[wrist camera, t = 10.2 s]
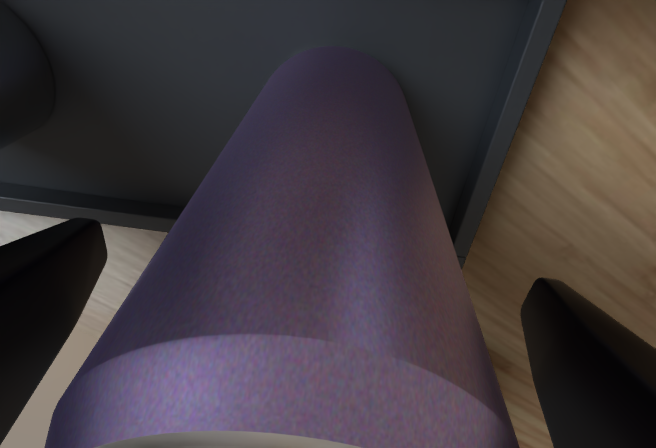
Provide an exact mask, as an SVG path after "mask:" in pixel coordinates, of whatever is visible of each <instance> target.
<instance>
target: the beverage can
mask: <svg viewBox="0 0 656 448" xmlns="http://www.w3.org/2000/svg"><path fill="white" fill-rule="evenodd" d="M45 448H519V444H518V441H517V438H516V435H515V432H514V429H513V426H512V423H511V420H510V417H509V414H508V411H507V408H506V405H505V402H504V399H503V396H502V393H501V390H500V386H499V383H498V380H497V377H496V374H495V371H494V368H493V365H492V362H491V359H490V356H489V353H488V350H487V347H486V344H485V341H484V338H483V335H482V331H481V328H480V325H479V322H478V319H477V316H476V313H475V310H474V307H473V304H472V301H471V298H470V295H469V292H468V289H467V286H466V283H465V280H464V277H463V273H462V270H461V267H460V264H459V261H458V258H457V255H456V252H455V249H454V246H453V243H452V240H451V237H450V234H449V231H448V228H447V225H446V222H445V218H444V215H443V212H442V209H441V206H440V203H439V200H438V197H437V194H436V191H435V188H434V185H433V182H432V179H431V176H430V173H429V170H428V167H427V164H426V160H425V157H424V154H423V151H422V148H421V145H420V142H419V139H418V136H417V133H416V130H415V127H414V124H413V121H412V118H411V115H410V112H409V109H408V105H407V102H406V99H405V97H404V94H403V91H402V89H401V87H400V85H399V84H398V82H397V80H396V79H395V78H394V76H393V75H392V74H391V73H390V71H389V70H388V69H387V68H386V67H385V66H383V65H382V64H381V63H380V62H379V61H377V60H376V59H374V58H373V57H371V56H369V55H367V54H365V53H363V52H361V51H358V50H355V49H351V48H347V47H340V46H323V47H317V48H312V49H309V50H306V51H303V52H301V53H299V54H297V55H295V56H293V57H291V58H290V59H288V60H287V61H286V62H284V63H283V64H282V65H281V66H280V67H279V68H278V69H277V70H276V71H275V72H274V73H273V74H272V76H271V77H270V79H269V80H268V82H267V83H266V85H265V86H264V88H263V89H262V91H261V92H260V94H259V95H258V97H257V98H256V100H255V101H254V103H253V104H252V106H251V108H250V109H249V111H248V112H247V114H246V115H245V117H244V118H243V120H242V121H241V123H240V124H239V126H238V127H237V129H236V131H235V132H234V134H233V135H232V137H231V138H230V140H229V141H228V143H227V144H226V146H225V147H224V149H223V150H222V152H221V154H220V155H219V157H218V158H217V160H216V161H215V163H214V164H213V166H212V167H211V169H210V170H209V172H208V173H207V175H206V176H205V178H204V180H203V181H202V183H201V184H200V186H199V187H198V189H197V190H196V192H195V193H194V195H193V196H192V198H191V199H190V201H189V203H188V204H187V206H186V207H185V209H184V210H183V212H182V213H181V215H180V216H179V218H178V219H177V221H176V222H175V224H174V225H173V227H172V229H171V230H170V232H169V233H168V235H167V236H166V238H165V239H164V241H163V242H162V244H161V245H160V247H159V248H158V250H157V252H156V253H155V255H154V256H153V258H152V259H151V261H150V262H149V264H148V265H147V267H146V268H145V270H144V271H143V273H142V274H141V276H140V278H139V279H138V281H137V282H136V284H135V285H134V287H133V288H132V290H131V291H130V293H129V294H128V296H127V297H126V299H125V301H124V302H123V304H122V305H121V307H120V308H119V310H118V311H117V313H116V314H115V316H114V317H113V319H112V320H111V322H110V324H109V325H108V327H107V328H106V330H105V331H104V333H103V334H102V336H101V337H100V339H99V340H98V342H97V344H96V345H95V347H94V348H93V350H92V351H91V353H90V354H89V356H88V357H87V359H86V360H85V362H84V363H83V365H82V367H81V368H80V369H79V371H78V373H77V374H76V376H75V377H74V379H73V380H72V382H71V383H70V385H69V386H68V388H67V389H66V391H65V393H64V394H63V396H62V397H61V399H60V400H59V402H58V403H57V406H56V408H55V410H54V412H53V416H52V420H51V424H50V427H49V431H48V436H47V440H46V444H45Z"/></svg>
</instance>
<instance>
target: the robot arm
mask: <svg viewBox="0 0 656 448" xmlns="http://www.w3.org/2000/svg"><path fill="white" fill-rule="evenodd" d="M106 261H107V248H106V244H105V239H104V235H103V231H102V227H101V224H100V223H99V222H98V221H97V220H95V219H88V218H79V217H78V218H73V219H70V220H68V221H65V222H63V223H60V224H57V225H55V226H52V227H49V228H47V229H44V230H42V231H39V232H36V233H34V234H31V235H29V236H26V237H23V238H21V239H18V240H15V241H13V242H10V243H8V244H5V245H2V246H0V445H1V443H2V442H3V440H4V439H5V437H6V435H7V434H8V432H9V431H10V429H11V427H12V426H13V424H14V423H15V421H16V420H17V418H18V416H19V415H20V413H21V412H22V410H23V408H24V407H25V405H26V404H27V402H28V400H29V399H30V397H31V396H32V394H33V393H34V391H35V389H36V388H37V386H38V385H39V383H40V381H41V380H42V378H43V376H44V375H45V374H46V372H47V370H48V369H49V367H50V366H51V364H52V362H53V361H54V359H55V358H56V356H57V354H58V353H59V351H60V350H61V348H62V346H63V345H64V343H65V342H66V340H67V339H68V337H69V335H70V334H71V332H72V330H73V329H74V327H75V325H76V323H77V321H78V319H79V318H80V316H81V314H82V311H83V309H84V307H85V305H86V303H87V301H88V299H89V297H90V295H91V293H92V291H93V289H94V287H95V285H96V283H97V280H98V278H99V276H100V274H101V272H102V270H103V268H104V266H105V264H106ZM521 321H522V326H523V331H524V336H525V342H526V347H527V352H528V357H529V362H530V367H531V372H532V376H533V381H534V385H535V388H536V392H537V395H538V398H539V402H540V405H541V408H542V411H543V414H544V417H545V421H546V424H547V427H548V430H549V433H550V436H551V440H552V443H553V446H554V448H656V349H655V348H653V347H652V346H651V345H649V344H648V343H647V342H645V341H644V340H642V339H641V338H640V337H638V336H637V335H635V334H634V333H633V332H631V331H630V330H629V329H627V328H626V327H624V326H623V325H622V324H620V323H619V322H617V321H616V320H615V319H613V318H612V317H611V316H609V315H608V314H606V313H605V312H604V311H602V310H601V309H599V308H598V307H597V306H595V305H594V304H593V303H591V302H590V301H588V300H587V299H586V298H584V297H583V296H581V295H580V294H579V293H577V292H576V291H574V290H573V289H572V288H570V287H569V286H568V285H566V284H565V283H563V282H562V281H560V280H557V279H550V278H538V279H537V280H536V281H535V282H534V283H533V285H532V287H531V289H530V291H529V293H528V295H527V297H526V298H525V300H524V302H523V304H522V307H521Z"/></svg>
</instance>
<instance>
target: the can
mask: <svg viewBox="0 0 656 448" xmlns="http://www.w3.org/2000/svg"><path fill="white" fill-rule="evenodd" d="M54 100H55V83H54V77H53V73H52V70H51V66H50V64H49V61H48V59H47V57H46V54H45V52H44V50H43V49H42V47H41V45H40V43H39V42H38V40H37V39H36V37H35V36H34V34H33V33H32V32H31V30H30V29H29V28H28V27H27V25H26V24H25V23H24V22H23V21H22V20H21V19H20V18H19V17H18V16H17V15H16V14H15V13H14V12H13V11H12V10H11V9H10V8H9V7H7V6H6V5H5V4H4V3H2V2H1V1H0V150H1V149H2V148H4V147H6V146H8V145H10V144H11V143H13V142H15V141H17V140H19V139H20V138H22V137H24V136H26V135H28V134H29V133H31V132H33V131H35V130H36V129H38V128H39V127H41V126H42V125H43V124H44V123H45V122H46V120H47V119H48V117H49V116H50V114H51V111H52V109H53V105H54Z"/></svg>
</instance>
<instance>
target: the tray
mask: <svg viewBox="0 0 656 448" xmlns="http://www.w3.org/2000/svg"><path fill="white" fill-rule="evenodd" d="M0 1H1V2H2V3H4V4H5V5H6V6H7V7H9V8H10V9H11V10H12V11H13V12H14V13H15V14H16V15H17V16H18V17H19V18H20V19H21V20H22V21H23V22H24V23H25V24H26V25H27V27H28V28H29V29H30V30H31V32H32V33H33V34H34V36H35V37H36V39H37V40H38V42H39V43H40V45H41V47H42V49H43V50H44V52H45V54H46V57H47V59H48V61H49V64H50V66H51V70H52V73H53V77H54V83H55V100H54V105H53V109H52V111H51V114H50V116H49V117H48V119H47V120H46V122H45V123H44V124H43V125H42V126H41V127H39V128H38V129H36V130H35V131H33V132H31V133H29V134H28V135H26V136H24V137H22V138H20V139H19V140H17V141H15V142H13V143H11V144H10V145H8V146H6V147H4V148H2V149H1V150H0V210H1V211H9V212H16V213H24V214H31V215H39V216H47V217H54V218H62V219H73V218H78V217H79V218H88V219H95V220H97V221H98V222H99V223H100V224H108V225H116V226H123V227H131V228H139V229H146V230H154V231H162V232H170V230H171V229H172V227H173V225H174V224H175V222H176V221H177V219H178V218H179V216H180V215H181V213H182V212H183V210H184V209H185V207H186V206H187V204H188V203H189V201H190V199H191V198H192V196H193V195H194V193H195V192H196V190H197V189H198V187H199V186H200V184H201V183H202V181H203V180H204V178H205V176H206V175H207V173H208V172H209V170H210V169H211V167H212V166H213V164H214V163H215V161H216V160H217V158H218V157H219V155H220V154H221V152H222V150H223V149H224V147H225V146H226V144H227V143H228V141H229V140H230V138H231V137H232V135H233V134H234V132H235V131H236V129H237V127H238V126H239V124H240V123H241V121H242V120H243V118H244V117H245V115H246V114H247V112H248V111H249V109H250V108H251V106H252V104H253V103H254V101H255V100H256V98H257V97H258V95H259V94H260V92H261V91H262V89H263V88H264V86H265V85H266V83H267V82H268V80H269V79H270V77H271V76H272V74H273V73H274V72H275V71H276V70H277V69H278V68H279V67H280V66H281V65H282V64H283V63H284V62H286V61H287V60H288V59H290V58H291V57H293V56H295V55H297V54H299V53H301V52H303V51H306V50H309V49H312V48H317V47H323V46H340V47H347V48H351V49H355V50H358V51H361V52H363V53H365V54H367V55H369V56H371V57H373V58H374V59H376V60H377V61H379V62H380V63H381V64H382V65H383V66H385V67H386V68H387V69H388V70H389V71H390V73H391V74H392V75H393V76H394V78H395V79H396V80H397V82H398V84H399V85H400V87H401V89H402V91H403V94H404V97H405V99H406V102H407V105H408V109H409V112H410V115H411V118H412V121H413V124H414V127H415V130H416V133H417V136H418V139H419V142H420V145H421V148H422V151H423V154H424V157H425V160H426V164H427V167H428V170H429V173H430V176H431V179H432V182H433V185H434V188H435V191H436V194H437V197H438V200H439V203H440V206H441V209H442V212H443V215H444V218H445V222H446V225H447V228H448V231H449V234H450V237H451V240H452V243H453V246H454V249H455V252H456V255H457V258H458V261H459V264H460V267H461V270H462V268H463V265H464V263H465V260H466V257H467V255H468V252H469V249H470V247H471V244H472V242H473V239H474V237H475V234H476V232H477V229H478V226H479V224H480V221H481V219H482V216H483V214H484V211H485V209H486V206H487V203H488V201H489V198H490V196H491V193H492V191H493V188H494V186H495V183H496V181H497V178H498V175H499V173H500V170H501V168H502V165H503V163H504V160H505V158H506V155H507V152H508V150H509V147H510V145H511V142H512V140H513V137H514V135H515V132H516V130H517V127H518V124H519V122H520V119H521V117H522V114H523V112H524V109H525V107H526V104H527V101H528V99H529V96H530V94H531V91H532V89H533V86H534V84H535V81H536V78H537V76H538V73H539V71H540V68H541V66H542V63H543V61H544V58H545V56H546V53H547V50H548V48H549V45H550V43H551V40H552V38H553V35H554V33H555V30H556V27H557V25H558V22H559V20H560V17H561V15H562V12H563V10H564V7H565V5H566V2H567V0H0Z"/></svg>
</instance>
